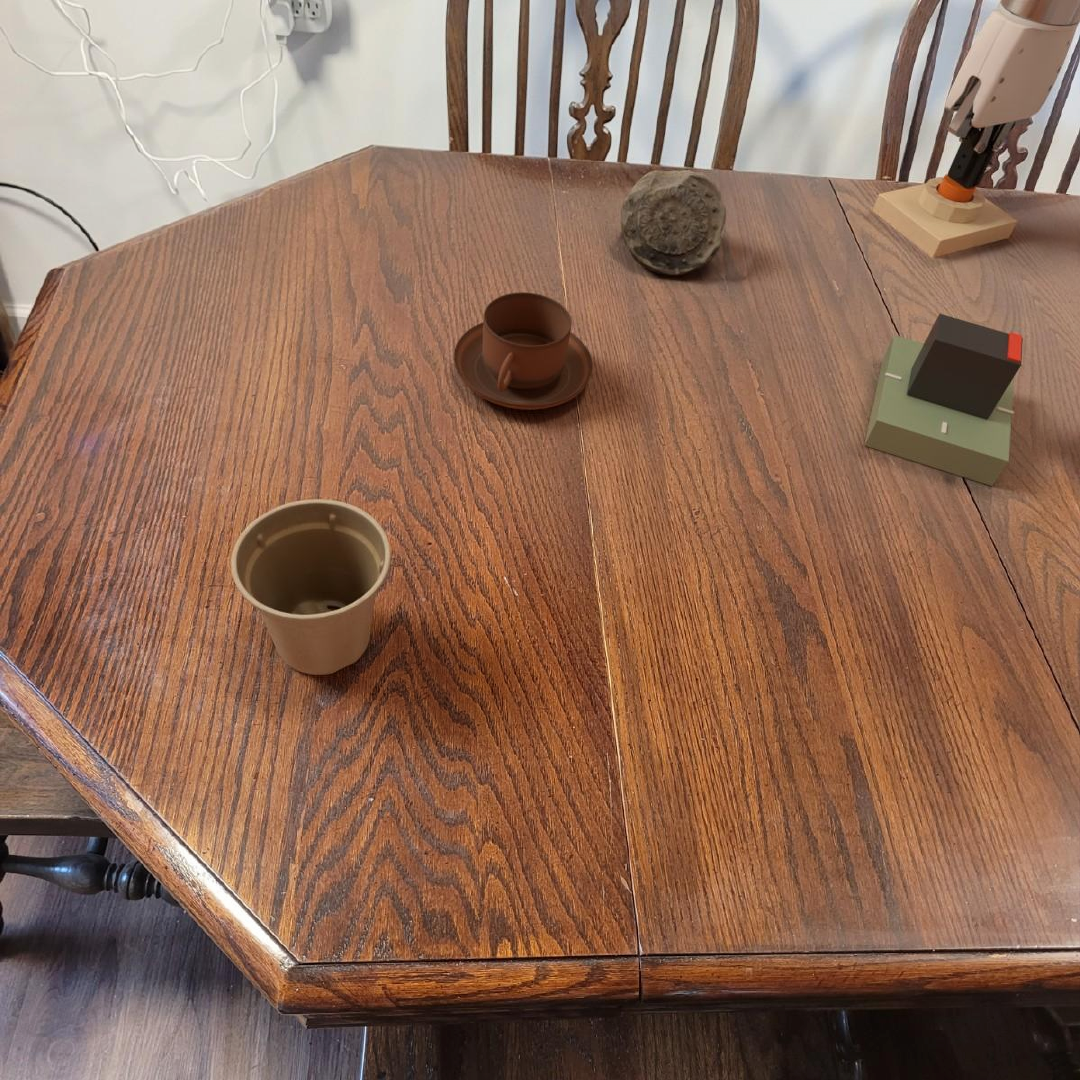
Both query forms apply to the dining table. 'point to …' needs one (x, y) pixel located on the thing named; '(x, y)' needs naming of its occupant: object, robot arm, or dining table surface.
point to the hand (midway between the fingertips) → (962, 180)
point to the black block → (965, 366)
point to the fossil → (673, 221)
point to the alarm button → (955, 190)
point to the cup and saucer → (523, 354)
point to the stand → (936, 424)
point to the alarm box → (943, 218)
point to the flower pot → (313, 580)
